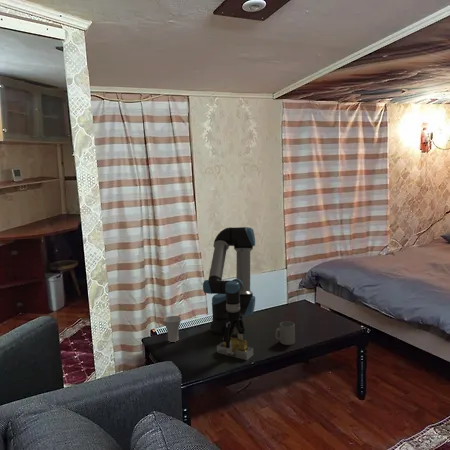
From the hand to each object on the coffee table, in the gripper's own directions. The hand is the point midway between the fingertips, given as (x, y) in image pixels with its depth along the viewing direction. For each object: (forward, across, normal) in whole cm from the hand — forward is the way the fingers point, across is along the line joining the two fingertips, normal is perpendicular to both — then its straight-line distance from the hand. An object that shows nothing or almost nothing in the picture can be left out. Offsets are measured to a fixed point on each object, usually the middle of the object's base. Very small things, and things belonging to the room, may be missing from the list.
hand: (234, 348), depth 226 cm
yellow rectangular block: (+1, 0, 0) cm, 1 cm away
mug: (+3, +26, -18) cm, 31 cm away
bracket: (+3, 0, 0) cm, 3 cm away
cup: (+3, -3, +42) cm, 42 cm away
